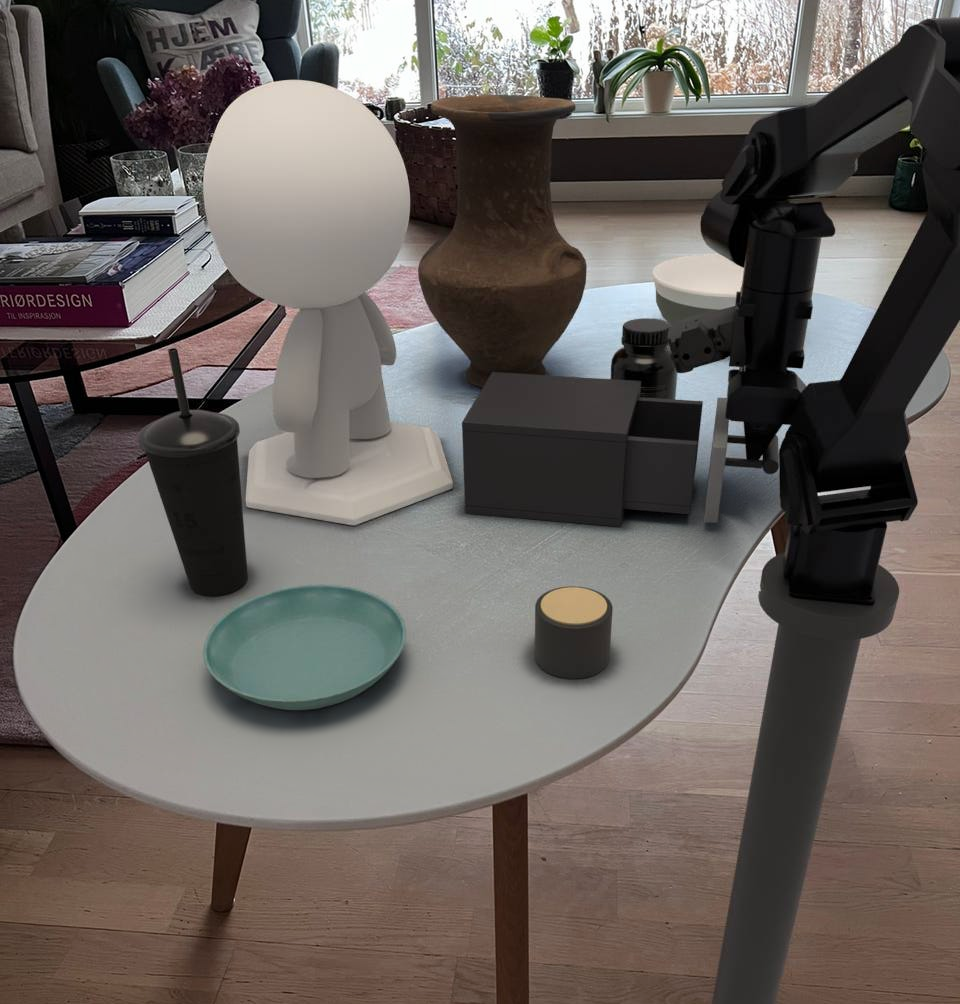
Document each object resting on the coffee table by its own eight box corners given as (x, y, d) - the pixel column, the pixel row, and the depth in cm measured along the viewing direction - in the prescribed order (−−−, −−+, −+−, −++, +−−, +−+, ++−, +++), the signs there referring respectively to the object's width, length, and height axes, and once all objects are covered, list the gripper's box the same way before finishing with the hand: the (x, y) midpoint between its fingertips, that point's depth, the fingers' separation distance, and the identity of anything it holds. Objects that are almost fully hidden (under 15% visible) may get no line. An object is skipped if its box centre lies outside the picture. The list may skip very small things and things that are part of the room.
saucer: (188, 731, 70) (181, 701, 69) (230, 613, 82) (225, 585, 81) (402, 727, 70) (399, 697, 69) (413, 609, 82) (411, 581, 81)
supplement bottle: (679, 429, 110) (690, 318, 103) (661, 454, 105) (671, 339, 98) (619, 420, 113) (625, 311, 106) (598, 444, 108) (603, 331, 101)
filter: (613, 639, 78) (617, 588, 76) (604, 683, 74) (607, 630, 71) (541, 631, 79) (542, 580, 77) (528, 674, 75) (528, 621, 72)
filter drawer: (771, 472, 99) (782, 401, 95) (771, 528, 90) (783, 452, 86) (585, 458, 103) (587, 388, 99) (567, 510, 94) (569, 436, 89)
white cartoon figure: (297, 421, 114) (250, 65, 94) (489, 448, 107) (481, 69, 87) (195, 499, 99) (113, 94, 79) (410, 536, 92) (380, 101, 72)
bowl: (632, 318, 142) (636, 256, 137) (763, 310, 143) (772, 249, 138) (667, 365, 126) (673, 298, 122) (813, 356, 128) (825, 289, 123)
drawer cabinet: (635, 467, 103) (641, 380, 98) (620, 527, 93) (626, 433, 88) (493, 457, 106) (492, 371, 100) (464, 513, 96) (461, 422, 90)
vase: (615, 381, 122) (631, 100, 105) (482, 420, 113) (475, 121, 96) (520, 339, 135) (520, 84, 118) (395, 371, 127) (375, 101, 109)
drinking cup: (186, 558, 90) (137, 333, 78) (272, 558, 90) (235, 332, 78) (161, 605, 84) (104, 368, 72) (253, 605, 83) (211, 367, 72)
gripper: (684, 251, 93) (669, 413, 102) (671, 314, 78) (655, 498, 87) (811, 255, 91) (784, 421, 100) (822, 321, 76) (790, 509, 85)
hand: (752, 459), depth 93 cm, fingers closed, pressing on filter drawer
